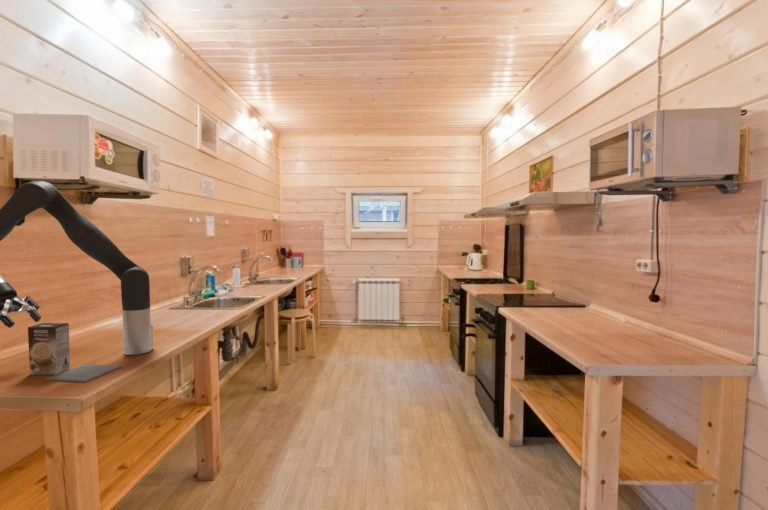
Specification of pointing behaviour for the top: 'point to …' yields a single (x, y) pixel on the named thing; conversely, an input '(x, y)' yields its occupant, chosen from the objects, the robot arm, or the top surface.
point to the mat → (84, 373)
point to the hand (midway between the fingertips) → (25, 323)
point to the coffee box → (49, 348)
